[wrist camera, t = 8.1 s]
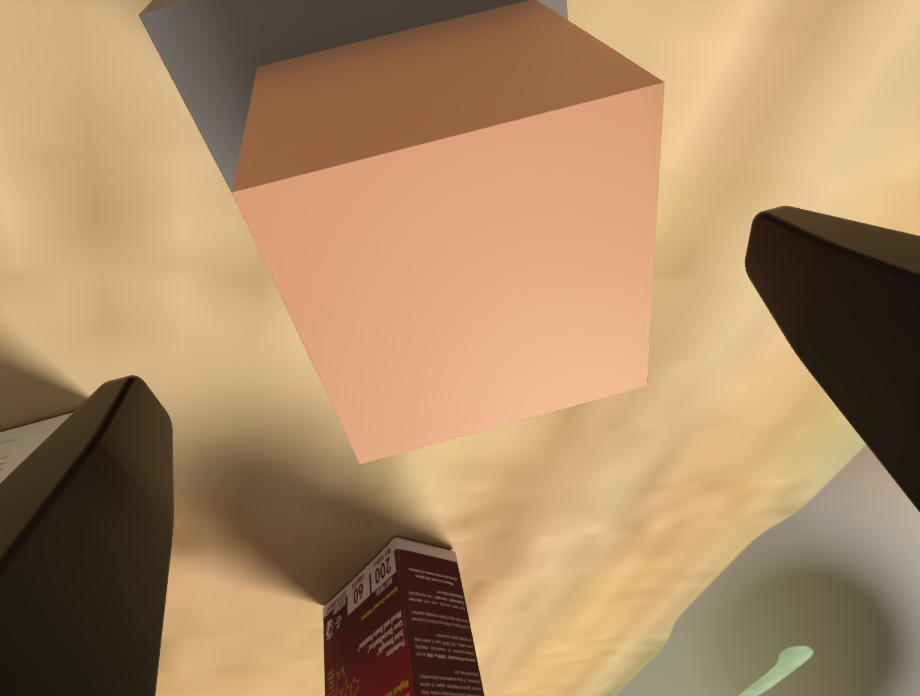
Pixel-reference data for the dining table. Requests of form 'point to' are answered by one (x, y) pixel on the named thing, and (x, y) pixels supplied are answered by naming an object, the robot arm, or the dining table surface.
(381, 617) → the supplement box
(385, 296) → the terracotta cube
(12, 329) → the dining table surface
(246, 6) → the tower top
